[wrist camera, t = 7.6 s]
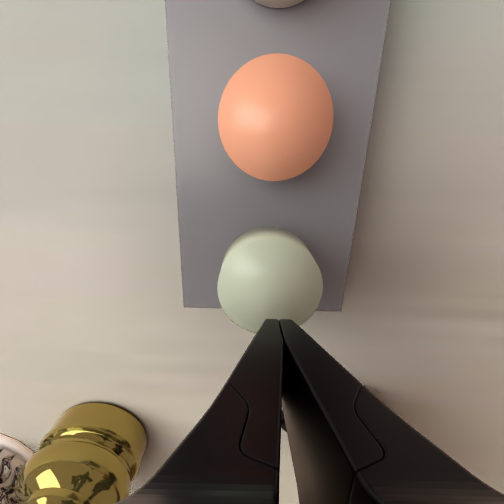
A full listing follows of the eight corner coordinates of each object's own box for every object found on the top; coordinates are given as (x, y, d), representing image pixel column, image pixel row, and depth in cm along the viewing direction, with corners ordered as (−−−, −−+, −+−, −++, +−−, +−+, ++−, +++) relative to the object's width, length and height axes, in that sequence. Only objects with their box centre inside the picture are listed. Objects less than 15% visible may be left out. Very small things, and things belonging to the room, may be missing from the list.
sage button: (308, 311, 14) (316, 335, 12) (222, 309, 14) (217, 333, 12) (317, 228, 13) (329, 241, 11) (221, 225, 12) (216, 237, 11)
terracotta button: (315, 178, 13) (326, 182, 11) (223, 176, 13) (218, 179, 11) (326, 71, 12) (341, 55, 10) (222, 68, 12) (216, 51, 10)
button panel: (329, 290, 18) (341, 311, 16) (192, 287, 18) (183, 307, 16) (384, -107, 12) (418, -174, 9) (173, -117, 12) (153, -186, 9)
